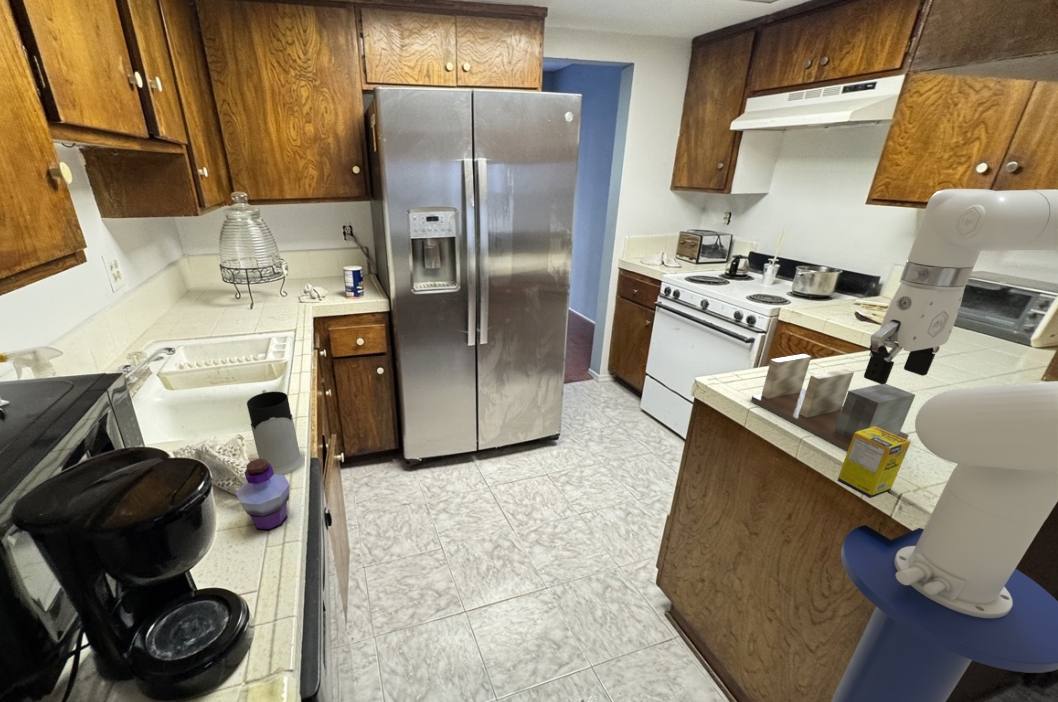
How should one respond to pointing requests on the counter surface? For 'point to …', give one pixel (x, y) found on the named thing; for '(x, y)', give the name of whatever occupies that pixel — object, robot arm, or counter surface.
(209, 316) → the counter surface
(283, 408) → the glass holder
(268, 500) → the potion bottle
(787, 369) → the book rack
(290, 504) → the counter surface
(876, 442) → the supplement box
